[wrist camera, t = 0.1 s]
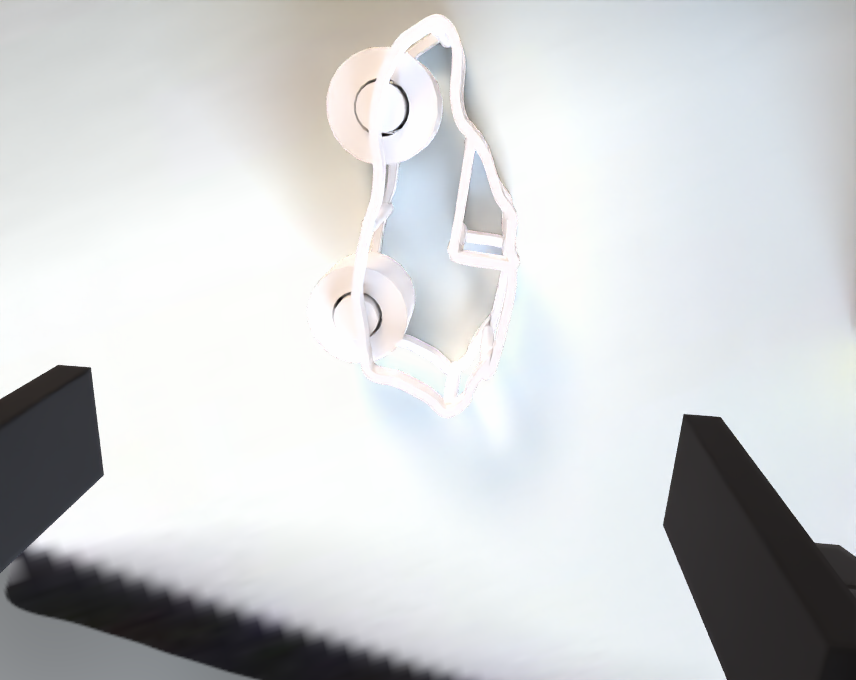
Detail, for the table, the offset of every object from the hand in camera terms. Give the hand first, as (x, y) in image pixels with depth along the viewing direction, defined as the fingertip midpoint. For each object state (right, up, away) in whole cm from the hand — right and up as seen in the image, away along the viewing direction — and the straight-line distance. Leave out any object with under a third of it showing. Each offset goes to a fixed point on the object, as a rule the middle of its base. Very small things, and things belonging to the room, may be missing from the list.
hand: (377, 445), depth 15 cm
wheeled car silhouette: (+1, +10, +26) cm, 28 cm away
